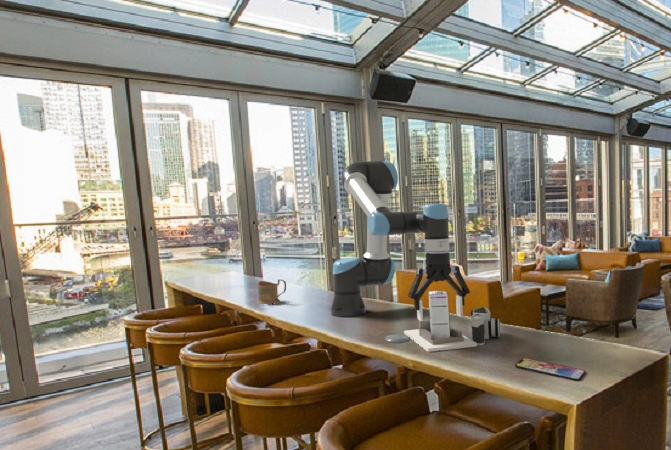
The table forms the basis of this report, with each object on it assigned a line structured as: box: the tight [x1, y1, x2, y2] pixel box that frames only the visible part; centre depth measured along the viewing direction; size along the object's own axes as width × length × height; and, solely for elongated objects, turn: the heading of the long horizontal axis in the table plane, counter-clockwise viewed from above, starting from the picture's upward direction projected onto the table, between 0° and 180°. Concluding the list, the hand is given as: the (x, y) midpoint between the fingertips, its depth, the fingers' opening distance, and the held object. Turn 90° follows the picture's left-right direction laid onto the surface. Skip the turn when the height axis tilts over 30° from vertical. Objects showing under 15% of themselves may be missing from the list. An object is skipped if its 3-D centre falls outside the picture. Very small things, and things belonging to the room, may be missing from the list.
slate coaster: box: [384, 333, 410, 344], centre depth 135 cm, size 8×8×1 cm
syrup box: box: [428, 290, 450, 339], centre depth 130 cm, size 6×6×14 cm
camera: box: [470, 306, 501, 346], centre depth 131 cm, size 16×9×10 cm, turn 157°
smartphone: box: [514, 357, 586, 382], centre depth 103 cm, size 7×1×15 cm
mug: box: [256, 279, 287, 305], centre depth 203 cm, size 12×18×12 cm, turn 57°
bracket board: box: [403, 317, 478, 353], centre depth 132 cm, size 20×16×6 cm
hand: (440, 318), depth 130 cm, fingers open, 13 cm apart
